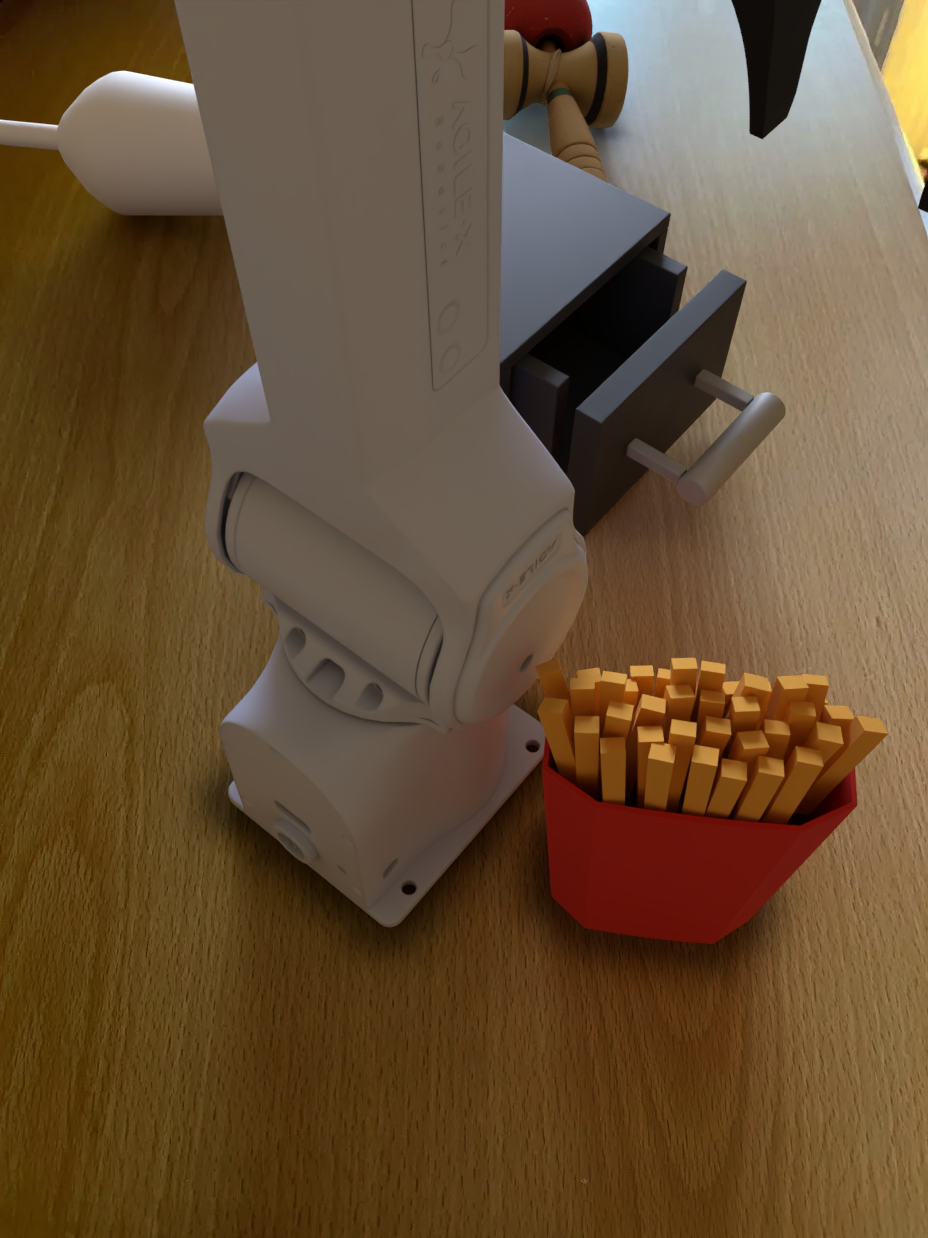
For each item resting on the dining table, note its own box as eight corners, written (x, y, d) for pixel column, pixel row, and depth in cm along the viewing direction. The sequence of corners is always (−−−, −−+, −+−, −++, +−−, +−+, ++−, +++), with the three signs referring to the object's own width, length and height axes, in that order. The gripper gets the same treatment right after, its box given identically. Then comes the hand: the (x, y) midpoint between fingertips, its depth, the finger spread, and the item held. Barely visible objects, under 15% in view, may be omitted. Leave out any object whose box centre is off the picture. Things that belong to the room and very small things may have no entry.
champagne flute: (-183, 94, 55) (319, 143, 53) (-122, 19, 59) (349, 62, 57) (-126, 217, 60) (331, 265, 59) (-73, 141, 64) (358, 184, 62)
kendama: (673, 254, 62) (600, 24, 69) (675, 163, 56) (595, -78, 64) (528, 288, 62) (472, 55, 70) (516, 200, 56) (455, -42, 64)
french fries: (774, 839, 42) (888, 641, 31) (777, 958, 39) (901, 787, 29) (518, 809, 42) (542, 603, 32) (505, 923, 40) (527, 743, 29)
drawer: (792, 440, 51) (833, 322, 46) (663, 587, 47) (692, 476, 41) (531, 299, 56) (540, 177, 51) (392, 419, 52) (385, 300, 46)
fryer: (643, 364, 55) (671, 212, 48) (493, 509, 50) (501, 363, 43) (455, 262, 59) (456, 108, 52) (299, 387, 54) (277, 235, 47)
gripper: (1255, -205, 36) (1060, 185, 47) (830, -324, 41) (747, 54, 52) (1170, -120, 32) (984, 276, 44) (722, -261, 37) (658, 127, 49)
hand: (849, 161), depth 48 cm, fingers open, 7 cm apart
